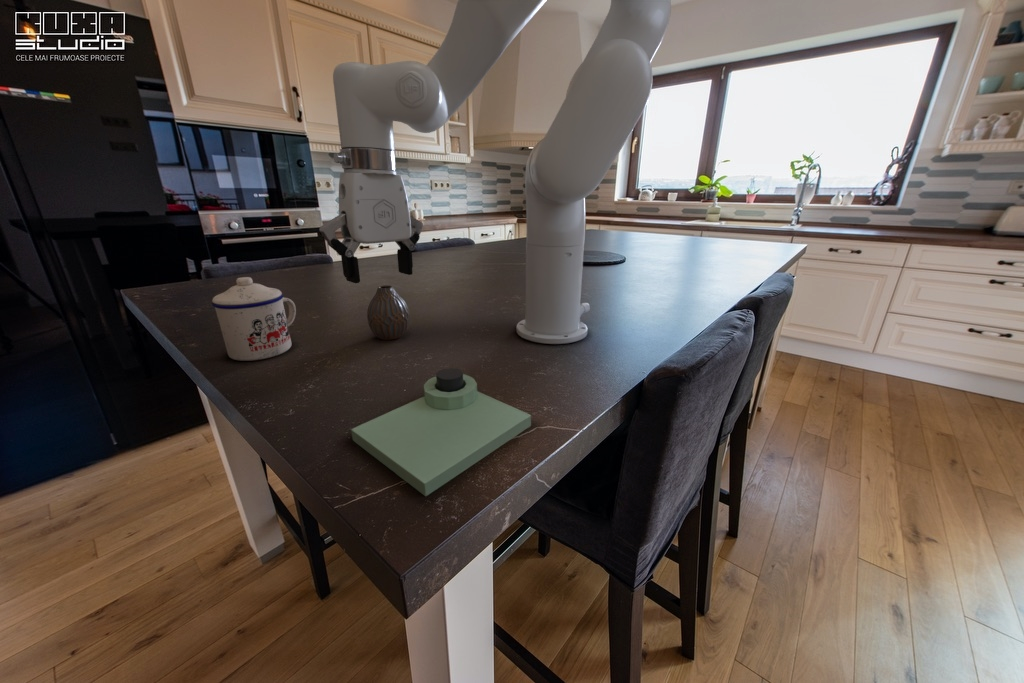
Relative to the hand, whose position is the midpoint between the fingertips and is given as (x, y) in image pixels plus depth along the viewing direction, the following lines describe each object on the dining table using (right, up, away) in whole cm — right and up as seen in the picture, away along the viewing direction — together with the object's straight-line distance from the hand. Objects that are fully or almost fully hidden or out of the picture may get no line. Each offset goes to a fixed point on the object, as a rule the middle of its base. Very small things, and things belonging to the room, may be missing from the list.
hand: (380, 277), depth 65 cm
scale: (+15, -20, -24) cm, 34 cm away
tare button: (+15, -16, -20) cm, 29 cm away
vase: (+1, -10, +4) cm, 11 cm away
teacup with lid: (-18, -12, -1) cm, 21 cm away
